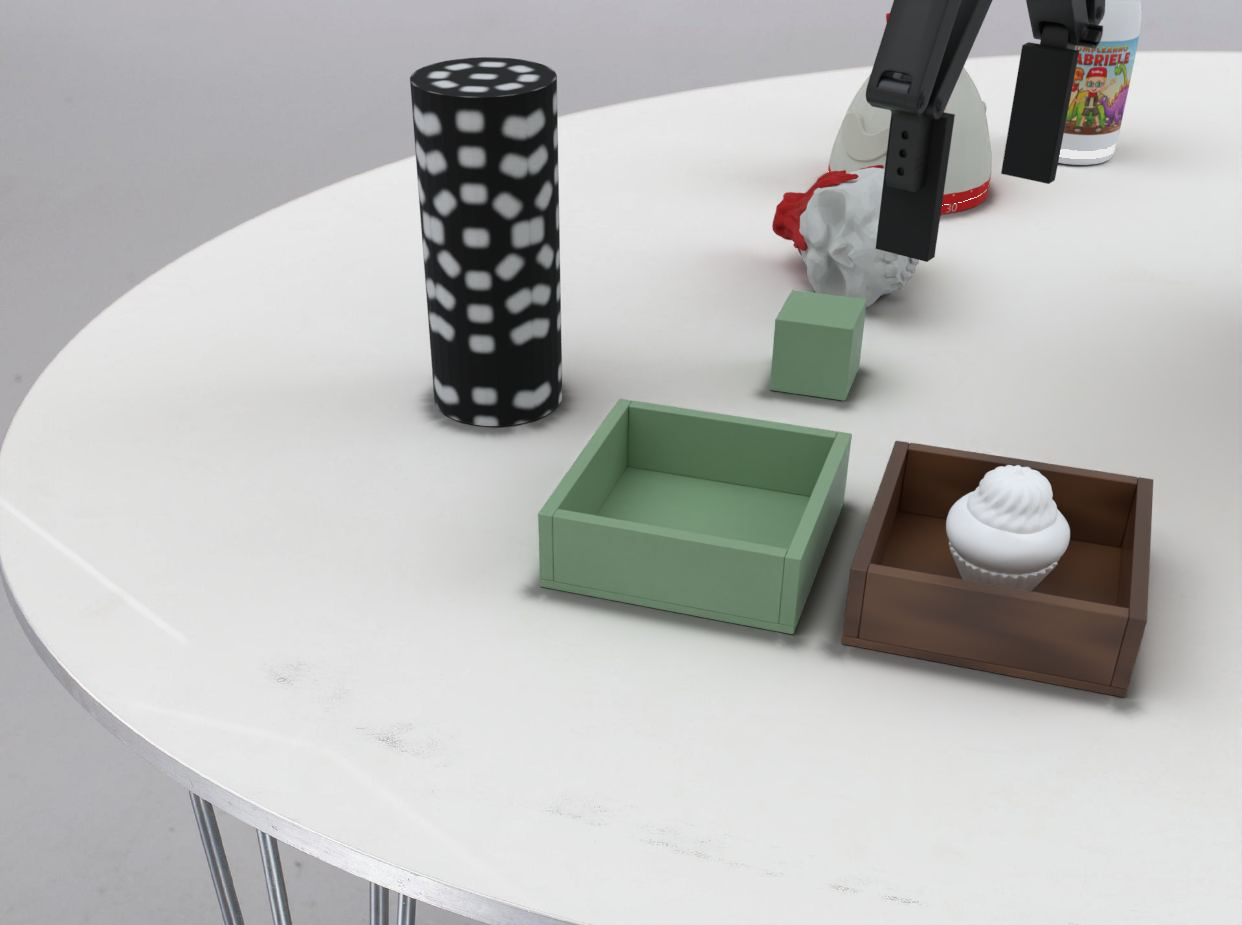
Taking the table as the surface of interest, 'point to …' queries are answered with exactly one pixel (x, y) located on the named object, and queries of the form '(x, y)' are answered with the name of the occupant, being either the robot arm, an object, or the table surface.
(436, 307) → the spotted tube
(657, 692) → the table surface
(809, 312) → the green block
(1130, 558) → the brown bin
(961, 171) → the kitchen timer
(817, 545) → the green bin
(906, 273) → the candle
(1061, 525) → the muffin
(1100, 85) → the milk bottle
